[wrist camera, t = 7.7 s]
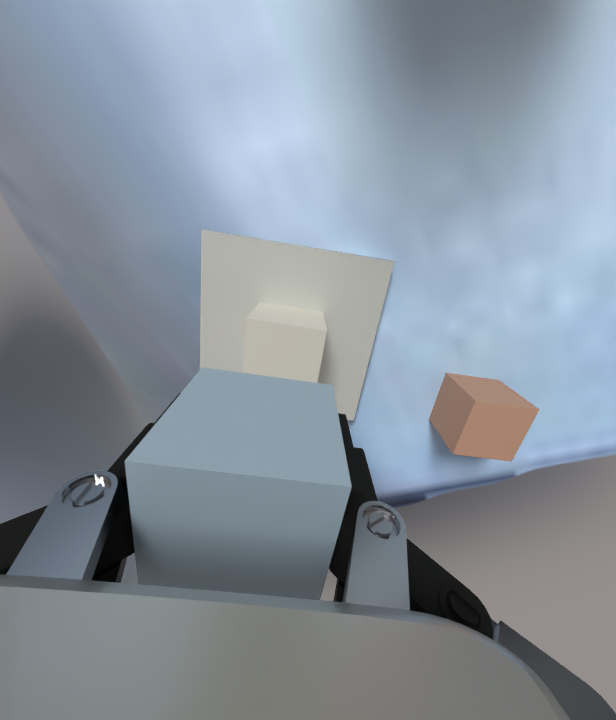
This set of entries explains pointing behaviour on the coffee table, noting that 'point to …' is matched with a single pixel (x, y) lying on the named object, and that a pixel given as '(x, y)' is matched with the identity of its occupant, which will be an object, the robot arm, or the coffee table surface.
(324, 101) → the coffee table surface
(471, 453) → the orange cube
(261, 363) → the base brick
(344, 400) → the plate
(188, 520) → the blue brick
